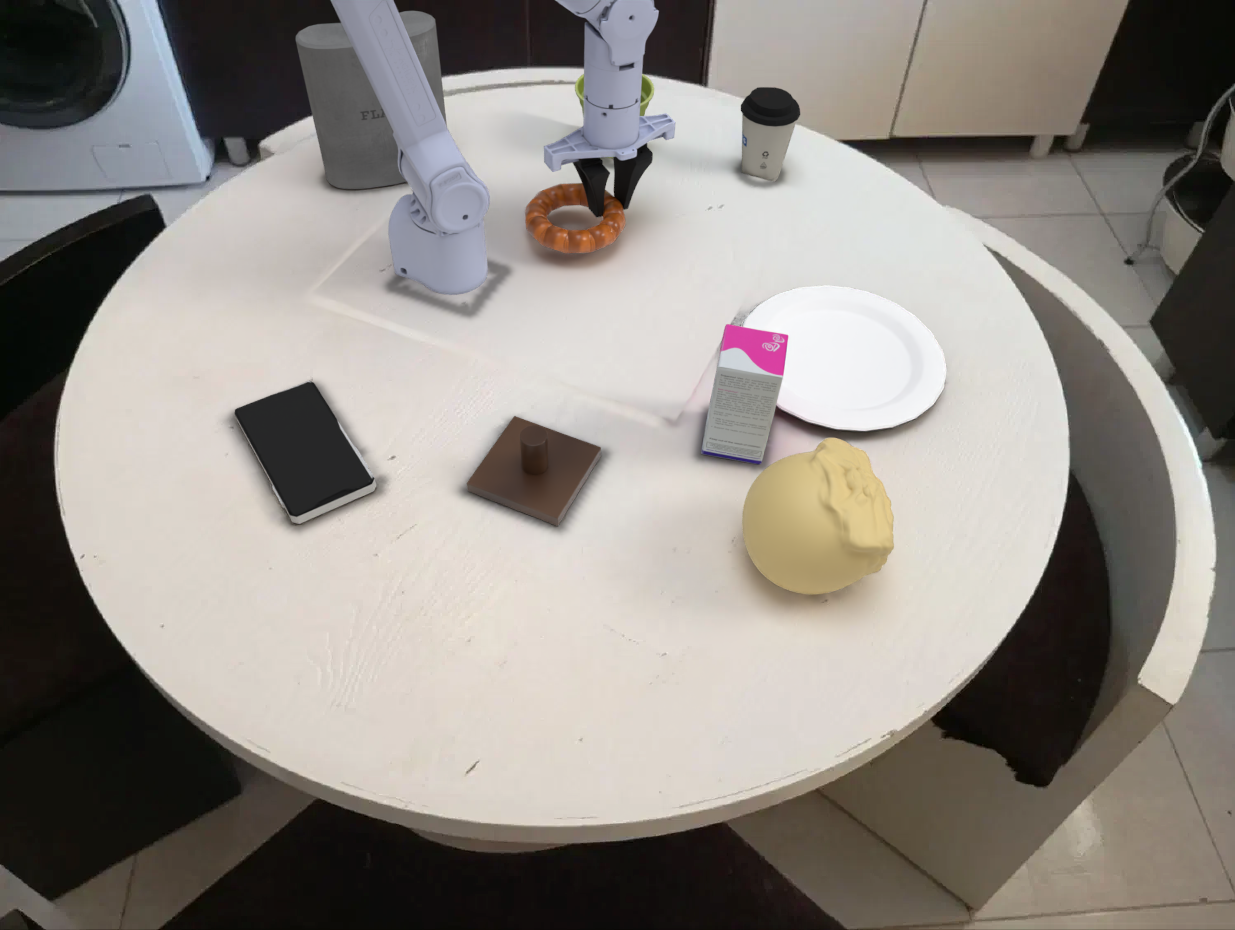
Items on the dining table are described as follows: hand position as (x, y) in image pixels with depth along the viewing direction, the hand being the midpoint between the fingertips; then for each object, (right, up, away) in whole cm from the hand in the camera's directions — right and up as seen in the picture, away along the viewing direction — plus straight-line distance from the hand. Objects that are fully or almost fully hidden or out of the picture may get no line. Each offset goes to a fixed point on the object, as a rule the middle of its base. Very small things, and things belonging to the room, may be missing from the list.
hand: (608, 208), depth 109 cm
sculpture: (+17, -36, -24) cm, 47 cm away
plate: (+23, -18, -9) cm, 31 cm away
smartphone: (-28, -27, -19) cm, 43 cm away
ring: (-4, -1, -2) cm, 4 cm away
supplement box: (+12, -26, -16) cm, 33 cm away
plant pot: (0, +10, +14) cm, 17 cm away
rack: (-6, -29, -19) cm, 36 cm away
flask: (-26, +7, +10) cm, 29 cm away
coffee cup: (+18, +7, +12) cm, 23 cm away
